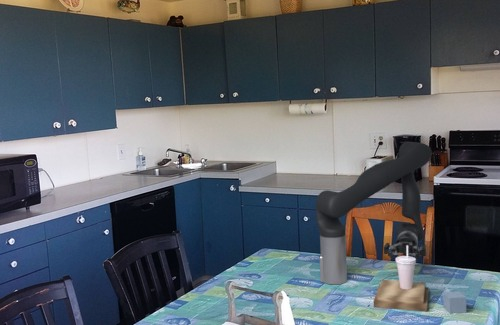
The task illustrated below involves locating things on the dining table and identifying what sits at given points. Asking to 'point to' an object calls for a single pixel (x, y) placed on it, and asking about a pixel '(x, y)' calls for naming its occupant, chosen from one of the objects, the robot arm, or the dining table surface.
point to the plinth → (401, 304)
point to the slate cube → (454, 302)
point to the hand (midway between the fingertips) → (403, 255)
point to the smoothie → (406, 270)
